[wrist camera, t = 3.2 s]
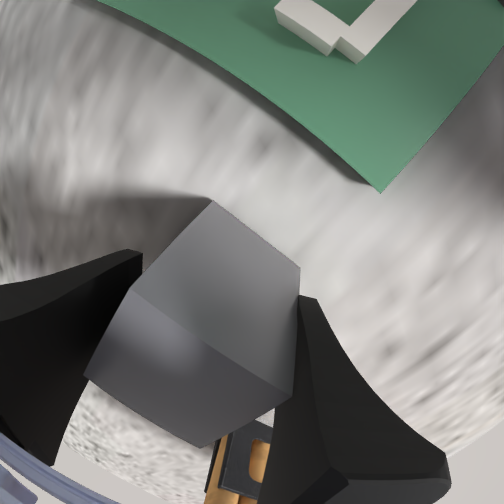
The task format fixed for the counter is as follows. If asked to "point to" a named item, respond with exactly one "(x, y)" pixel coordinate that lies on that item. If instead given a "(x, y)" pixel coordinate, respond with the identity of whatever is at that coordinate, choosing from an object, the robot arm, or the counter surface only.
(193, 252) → the plug
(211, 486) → the ammunition clip
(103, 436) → the counter surface
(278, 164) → the counter surface
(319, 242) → the counter surface
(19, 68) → the counter surface
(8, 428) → the robot arm
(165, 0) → the board
